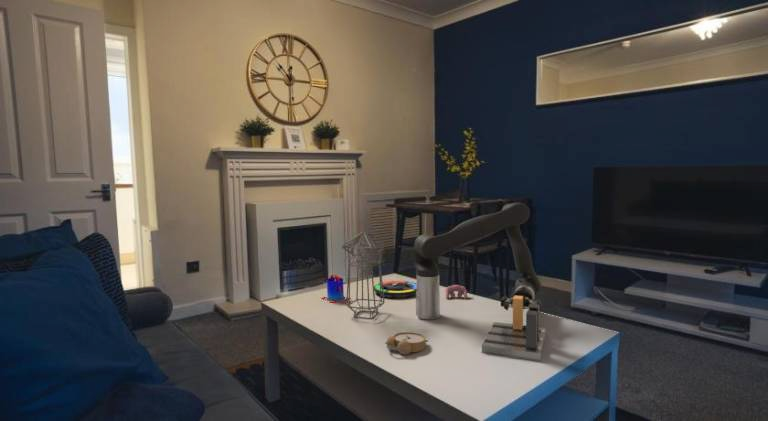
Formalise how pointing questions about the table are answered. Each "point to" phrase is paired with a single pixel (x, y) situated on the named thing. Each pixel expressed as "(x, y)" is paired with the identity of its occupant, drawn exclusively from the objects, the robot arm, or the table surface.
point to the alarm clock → (406, 342)
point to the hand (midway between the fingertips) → (518, 308)
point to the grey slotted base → (517, 338)
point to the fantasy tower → (335, 290)
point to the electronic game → (397, 289)
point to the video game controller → (458, 288)
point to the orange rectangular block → (518, 312)
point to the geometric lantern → (353, 243)
